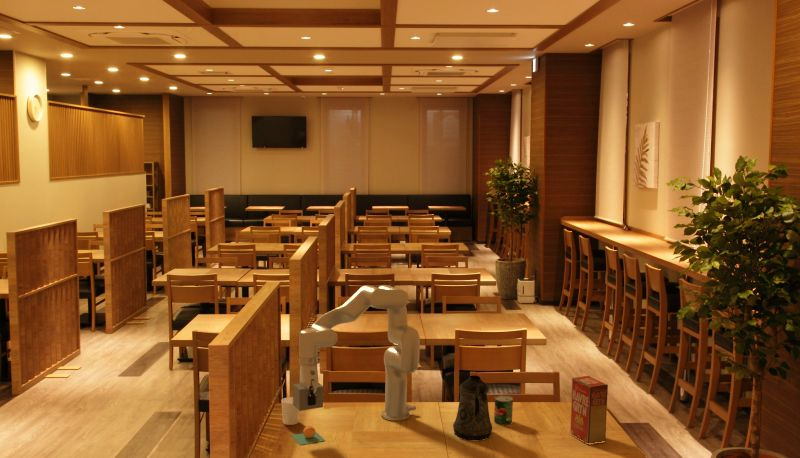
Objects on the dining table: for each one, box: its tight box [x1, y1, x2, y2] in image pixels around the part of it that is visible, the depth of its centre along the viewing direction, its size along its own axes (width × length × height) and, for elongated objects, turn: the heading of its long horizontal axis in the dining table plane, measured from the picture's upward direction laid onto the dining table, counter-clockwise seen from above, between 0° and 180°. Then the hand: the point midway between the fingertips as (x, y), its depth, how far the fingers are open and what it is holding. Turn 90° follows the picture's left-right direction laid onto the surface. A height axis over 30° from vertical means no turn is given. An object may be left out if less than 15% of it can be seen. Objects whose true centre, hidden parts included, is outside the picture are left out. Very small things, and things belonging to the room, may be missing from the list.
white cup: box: [280, 396, 300, 426], centre depth 341 cm, size 8×8×10 cm
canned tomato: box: [493, 395, 514, 426], centre depth 346 cm, size 8×8×11 cm
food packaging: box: [569, 375, 609, 443], centre depth 329 cm, size 13×9×25 cm
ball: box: [302, 425, 316, 438], centre depth 324 cm, size 5×5×5 cm
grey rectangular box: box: [292, 382, 324, 412], centre depth 322 cm, size 10×8×9 cm
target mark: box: [290, 430, 326, 446], centre depth 324 cm, size 11×11×1 cm
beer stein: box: [452, 374, 493, 441], centre depth 330 cm, size 16×19×25 cm
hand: (308, 401), depth 322 cm, fingers closed on grey rectangular box, 7 cm apart
